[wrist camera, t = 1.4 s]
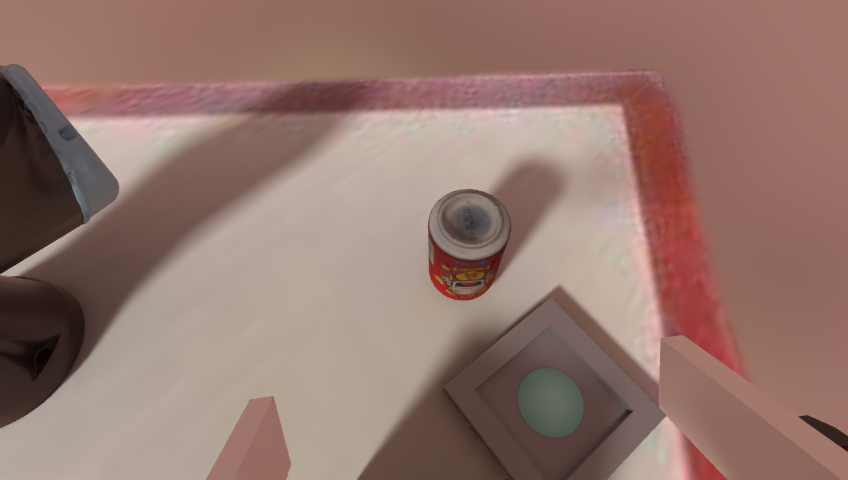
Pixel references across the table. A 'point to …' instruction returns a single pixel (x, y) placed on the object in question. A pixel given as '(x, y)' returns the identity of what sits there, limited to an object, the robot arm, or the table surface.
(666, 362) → the robot arm
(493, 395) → the tray
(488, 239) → the soda can
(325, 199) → the table surface
